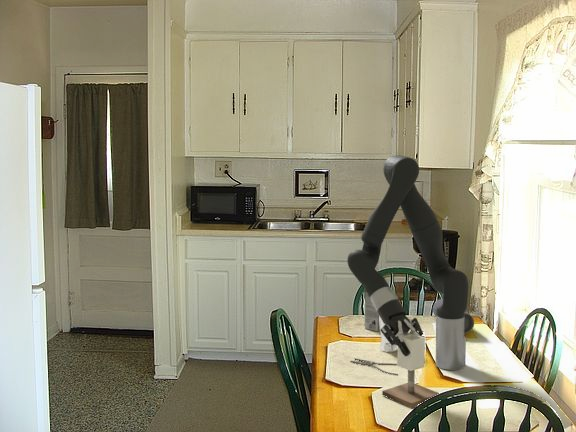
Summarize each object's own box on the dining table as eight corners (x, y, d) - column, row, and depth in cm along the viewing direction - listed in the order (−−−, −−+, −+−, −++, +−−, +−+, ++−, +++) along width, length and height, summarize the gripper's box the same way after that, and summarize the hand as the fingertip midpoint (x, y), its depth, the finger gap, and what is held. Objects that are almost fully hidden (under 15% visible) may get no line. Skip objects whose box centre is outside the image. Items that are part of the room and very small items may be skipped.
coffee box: (375, 323, 285) (375, 284, 283) (389, 325, 281) (389, 286, 279) (364, 328, 278) (364, 289, 276) (378, 331, 274) (378, 291, 272)
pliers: (402, 374, 225) (344, 367, 233) (402, 377, 225) (344, 369, 233) (409, 365, 234) (353, 357, 242) (409, 367, 234) (353, 360, 242)
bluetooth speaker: (475, 336, 266) (476, 311, 264) (452, 338, 264) (452, 312, 263) (452, 320, 288) (453, 296, 287) (431, 321, 286) (431, 298, 285)
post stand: (410, 386, 216) (410, 357, 215) (439, 398, 206) (440, 367, 205) (382, 395, 209) (382, 365, 208) (411, 408, 199) (411, 376, 198)
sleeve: (410, 362, 210) (410, 333, 209) (424, 367, 206) (424, 337, 205) (397, 365, 207) (397, 336, 206) (411, 371, 202) (411, 341, 201)
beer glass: (401, 349, 252) (402, 308, 250) (390, 353, 247) (391, 312, 245) (386, 345, 257) (386, 305, 255) (374, 349, 252) (375, 309, 250)
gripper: (376, 301, 206) (405, 351, 198) (410, 294, 214) (439, 341, 206) (364, 315, 211) (391, 364, 203) (397, 308, 219) (425, 354, 211)
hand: (415, 352), depth 204 cm, fingers closed on sleeve, 5 cm apart
